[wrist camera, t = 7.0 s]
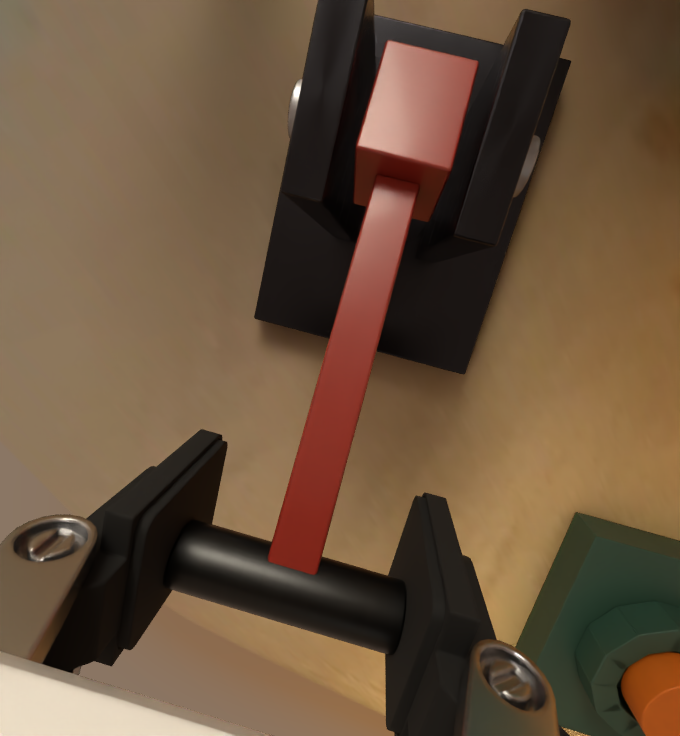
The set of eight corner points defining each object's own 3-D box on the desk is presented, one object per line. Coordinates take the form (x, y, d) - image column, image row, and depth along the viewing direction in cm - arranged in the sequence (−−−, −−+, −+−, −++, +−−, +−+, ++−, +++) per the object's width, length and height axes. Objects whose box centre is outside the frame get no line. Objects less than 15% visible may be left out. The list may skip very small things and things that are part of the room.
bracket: (460, 369, 21) (551, 476, 10) (260, 316, 22) (127, 359, 10) (559, 75, 18) (868, -279, 7) (321, 19, 18) (224, -403, 7)
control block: (575, 511, 22) (616, 560, 19) (756, 562, 22) (837, 623, 18) (502, 676, 25) (524, 748, 21) (661, 723, 25) (713, 806, 21)
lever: (383, 623, 10) (396, 688, 8) (190, 565, 10) (143, 610, 8) (500, 145, 11) (541, 73, 9) (330, 104, 12) (327, 23, 9)
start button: (640, 641, 20) (664, 675, 18) (722, 664, 20) (755, 702, 18) (607, 702, 21) (627, 740, 19) (685, 725, 20) (713, 766, 19)
